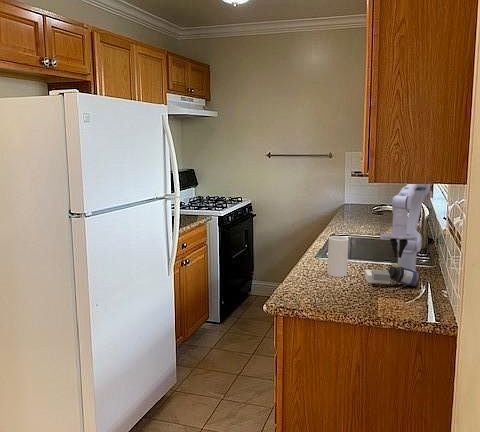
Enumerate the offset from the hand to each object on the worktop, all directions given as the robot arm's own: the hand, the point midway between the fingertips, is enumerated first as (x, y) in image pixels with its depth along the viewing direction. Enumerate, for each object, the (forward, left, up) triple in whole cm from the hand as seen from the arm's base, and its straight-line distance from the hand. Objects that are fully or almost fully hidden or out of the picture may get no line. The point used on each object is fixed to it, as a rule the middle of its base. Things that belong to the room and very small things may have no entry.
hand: (397, 257), depth 196 cm
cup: (-2, -24, -10) cm, 26 cm away
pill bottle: (+9, +6, -6) cm, 13 cm away
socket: (+3, -8, -9) cm, 13 cm away
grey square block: (+11, -8, -6) cm, 15 cm away
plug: (0, 0, -10) cm, 10 cm away
